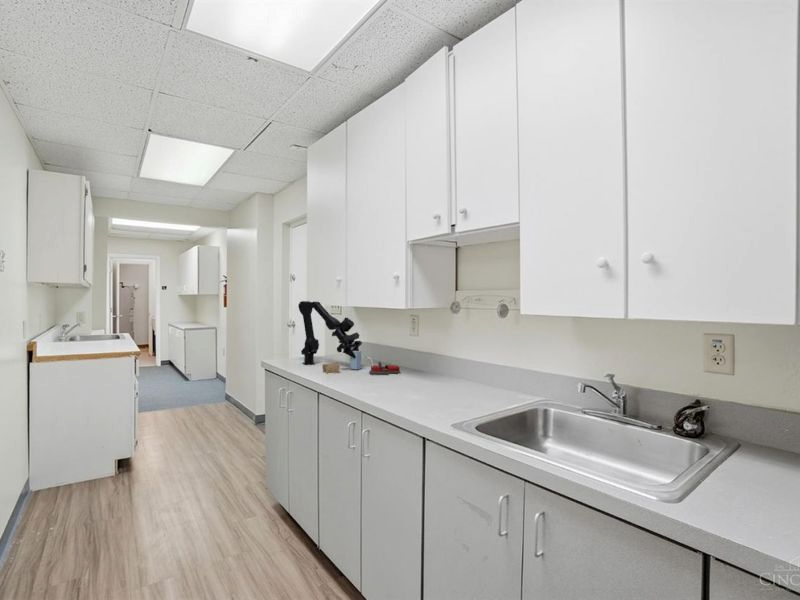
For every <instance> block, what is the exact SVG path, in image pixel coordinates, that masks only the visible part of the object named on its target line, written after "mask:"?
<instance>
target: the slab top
mask: <svg viewBox="0 0 800 600" xmlns="http://www.w3.org/2000/svg"><path fill="white" fill-rule="evenodd" d="M321 369H322V370H323V369H326V370H336V369H339V370H340V369H341V364H339V363H334V362H330V363H329V362H328V363H322V368H321Z"/></svg>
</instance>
